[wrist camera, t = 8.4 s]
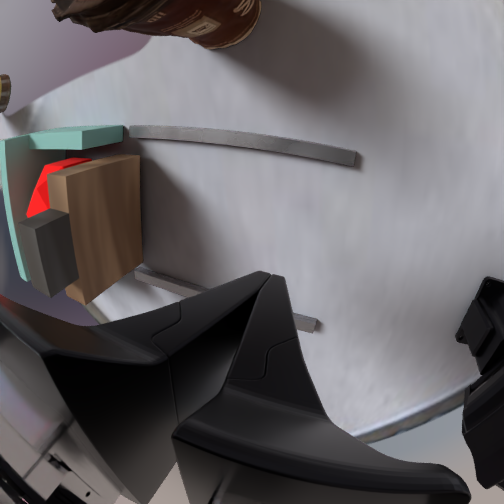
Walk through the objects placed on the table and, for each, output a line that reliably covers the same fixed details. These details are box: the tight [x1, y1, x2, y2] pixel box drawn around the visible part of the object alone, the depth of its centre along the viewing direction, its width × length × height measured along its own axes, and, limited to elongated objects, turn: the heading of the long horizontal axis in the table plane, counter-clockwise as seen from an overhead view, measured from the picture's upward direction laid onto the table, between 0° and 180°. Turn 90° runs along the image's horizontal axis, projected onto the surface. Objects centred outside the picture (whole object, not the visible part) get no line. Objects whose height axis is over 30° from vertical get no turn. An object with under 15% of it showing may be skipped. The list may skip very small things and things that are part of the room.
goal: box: [0, 125, 123, 281], centre depth 24 cm, size 10×15×8 cm
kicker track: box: [129, 125, 356, 333], centre depth 24 cm, size 18×15×1 cm
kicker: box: [18, 154, 143, 305], centre depth 21 cm, size 2×10×11 cm, turn 173°
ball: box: [26, 157, 92, 218], centre depth 24 cm, size 8×8×8 cm
